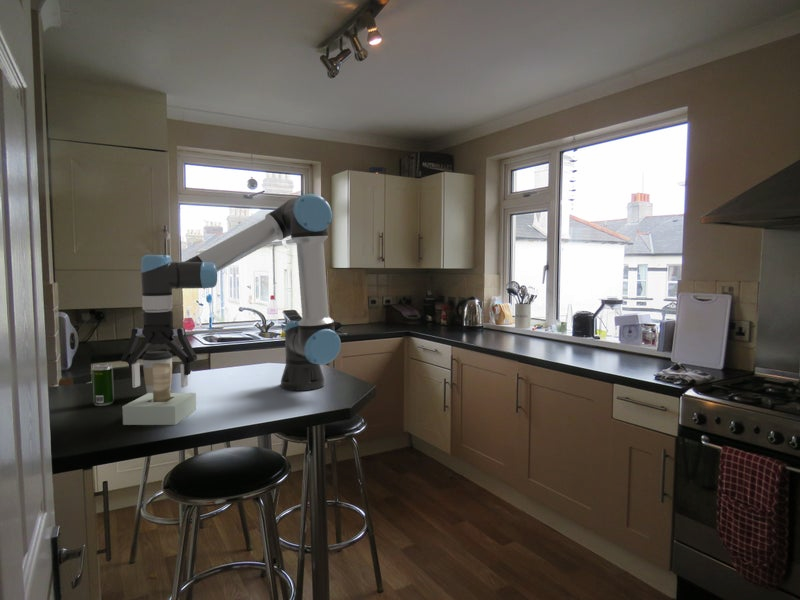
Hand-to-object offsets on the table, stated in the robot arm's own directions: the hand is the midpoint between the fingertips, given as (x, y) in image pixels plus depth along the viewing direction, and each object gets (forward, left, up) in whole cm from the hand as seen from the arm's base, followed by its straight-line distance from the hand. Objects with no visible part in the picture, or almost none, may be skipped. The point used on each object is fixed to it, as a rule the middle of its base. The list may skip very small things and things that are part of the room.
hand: (160, 386), depth 142 cm
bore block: (0, 0, -9) cm, 9 cm away
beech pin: (0, 0, -8) cm, 8 cm away
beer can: (+24, -13, -9) cm, 29 cm away
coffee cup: (+11, -23, -9) cm, 27 cm away
